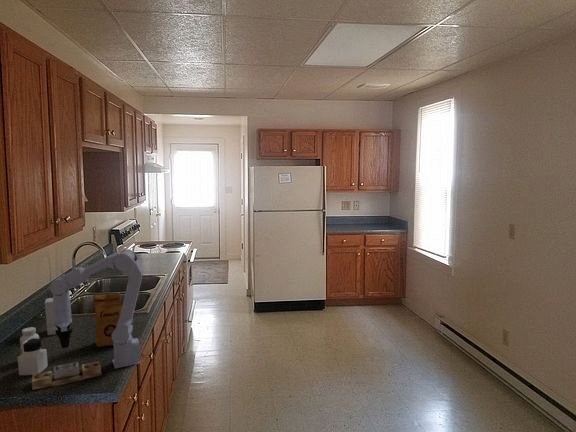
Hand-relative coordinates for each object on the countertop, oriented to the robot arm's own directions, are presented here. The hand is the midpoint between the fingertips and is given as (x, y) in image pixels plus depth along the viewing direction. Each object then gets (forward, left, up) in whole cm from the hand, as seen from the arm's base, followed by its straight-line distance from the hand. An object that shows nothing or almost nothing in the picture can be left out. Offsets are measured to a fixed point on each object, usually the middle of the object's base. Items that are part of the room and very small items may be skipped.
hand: (64, 343), depth 169 cm
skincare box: (+3, -44, -10) cm, 45 cm away
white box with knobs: (0, +11, -10) cm, 14 cm away
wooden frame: (0, +11, -9) cm, 14 cm away
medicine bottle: (+11, -3, -10) cm, 15 cm away
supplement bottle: (+12, -14, -10) cm, 21 cm away
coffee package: (-18, -16, -10) cm, 26 cm away
